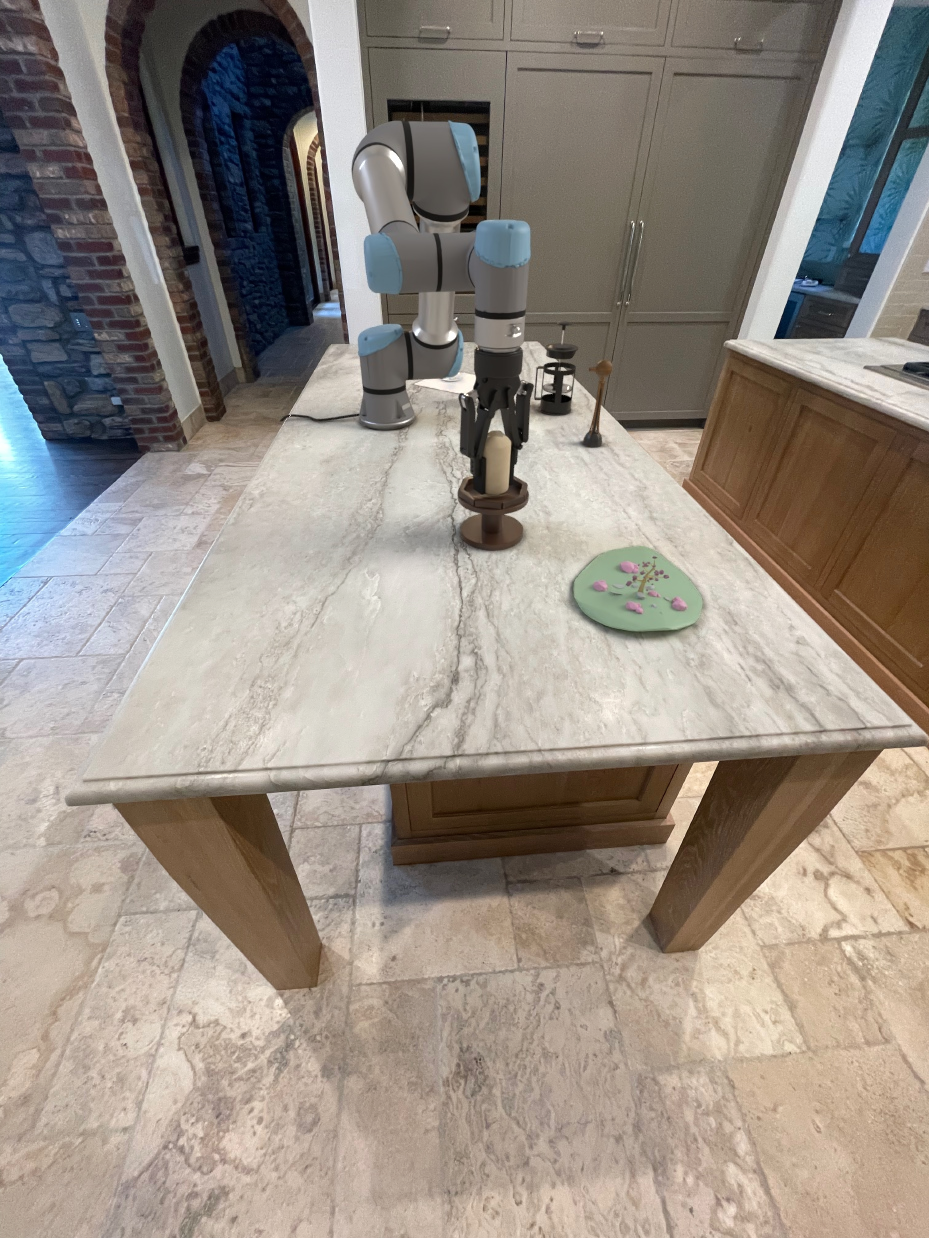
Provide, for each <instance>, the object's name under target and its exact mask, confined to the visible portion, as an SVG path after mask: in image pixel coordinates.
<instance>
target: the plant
mask: <svg viewBox="0 0 929 1238" xmlns="http://www.w3.org/2000/svg"><path fill="white" fill-rule="evenodd" d="M572 587H573V588H572V589H573V598H574V600H575V602H576V603H577V605H578V607H579V608H580V610H581V611H582V612H583V613H584V615H586V616H587V617H588V618H590V619H591V620H593V621H595V622H596V623H599V624H601V625H604V626H606V627H609V628H612V629H618V630H621V631H622V630H624V631H629V632H659V631H678V630H681V629H684V628H687V627H690V626H692V625H694V624H696V622H698V620H699V618H700V616H701V614H702V613H701V612H702V609H703V605H704V604H703V597H702V595H701V594H700V592H699V590H698V588H696V586H695V584H693V582H692V581H691V580H690V577H688V576H687V574H685V573H684V572H683V571H682V570H681V569H680V568H679V567H677V566H676V565H674V564H673V563H672V562H671V561H670V560H668V559H667V558H666V557H664V556H663V555H662V554H660V553H659V552H658V551H656V550H655V549H653V548H650V547H648V546H643V545H635V546H628V547H621V548H616V549H611V550H607V551H605V552H602V553H600V554H599V555H597V556H596V557H595V558H594V559H593V560H592V561H590V563H589V564H588V565H586V567H584V568H583V570H582V571H580V573H579V574H578V575H577V576H576V577H575V580H574V582H573V586H572Z"/></svg>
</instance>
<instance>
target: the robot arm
mask: <svg viewBox="0 0 929 1238" xmlns="http://www.w3.org/2000/svg"><path fill="white" fill-rule="evenodd" d="M350 171H351V179H352V184H353V187H354V190H355V193H356V195H357V197H358V198H359V200H360V201H361V202H362V203H363V206H364V209H365V214H366V218H367V223H368V227H369V231H370V234H368V235H366V236H365V237H364V240H363V255H364V257H363V258H364V267H365V274H366V281H367V286H368V288H369V291H371V292H372V293H375V294H390V295H393V296H394V295H399V294H418V315H417V317H416V318H415V319H414V320H413V322H412V326H411V330H404V328H403V326H402V325H401V324H399V323H386V324H385V323H383V324H379V325H374V326H371V327H368V328H366V329H364V330H362V331H361V332H360V333H359V335H358V337H357V349H358V351H357V355H358V357H359V365H360V375H361V385H362V397H361V403H360V408H359V413H352V414H344V415H339V416H332V417H325V418H315V417H313V416H310V415H304V414H296V413H295V414H294V413H292V414H291V413H290V414H291V416H290V414H287V415H284V416H283V417H282V418H280V420H279V422H280V423H281V422H284V421H285V420H287V419H289V418H301V419H308V420H311V421H313V422H329V421H337V420H343V419H349V418H356V417H358V418H359V423H360V425H361V426H363V427H365V428H368V429H371V430H378V431H390V430H391V431H392V430H399V429H403V428H407V427H408V426H410V425H412V424H413V423H414V422H415V419H416V415H415V410H414V407H413V404H412V402H411V399H410V397H409V394H408V391H407V381H422V380H424V379H444V378H448V377H454V376H456V375H457V374H458V373H459V372H461V368H462V365H463V360H464V345H465V343H464V336H463V333H462V331H461V330H460V328H459V327H458V324H457V323H456V321H455V320H454V314H455V313H454V311H455V299H456V298H455V297H456V292H474V305H475V306H474V326H473V327H474V332H473V342H474V344H475V345H476V347H475V348H474V350H473V356H474V357H473V372H474V375H475V376H476V381H475V384H474V386H473V390H472V391H470V392H468V393H466V394H464V393H460V394H459V393H458V397H457V399H458V403H459V406H460V430H459V431H460V432H459V433H460V434H459V453H460V454H462V455H463V456H465V457H467V458H469V459H470V460H469V472H470V475H471V476H473V489H474V490H476V491H477V492H478V493H480V494H481V495H482V494H485V484H486V458H485V457H483V456H482V455H483V452H484V448H485V444H486V440H487V436H488V433H489V432H490V428H491V423H492V419H494V418H495V416H496V412H497V411H498V410H499V411H500V416H501V421H502V427H503V431H504V432H503V433H504V434H505V435H506V436H507V437H508V438H509V439H510V440H511V454H510V471H509V486H511V485H513V479H514V476H515V466H516V465H518V456H519V451H521V450H522V449H523V448H524V444H526V443H527V442H529V437H530V420H531V419H530V418H531V417H530V415H531V398H532V395H533V391H534V390H535V384H534V383H532V382H530V381H527V380H524V379H521V377H520V375H521V374H522V371H523V362H524V361H523V358H524V349H523V348H522V347H521V346H522V345H523V344H524V342H525V327H526V314H527V313H526V312H527V311H526V310H527V300H528V285H529V273H530V272H529V271H530V260H531V256H532V249H531V227H530V225H529V224H528V222H526V221H524V220H517V219H486V220H485V219H484V220H482V221H480V222H479V223H478V224H477V226H476V228H475V229H473V230H472V231H470V232H461V222H462V221H463V220H464V219H466V218H467V217H468V214H469V211H470V202H471V203H475V202H476V201H478V200H479V198H480V194H481V163H480V154H479V146H478V140H477V137H476V133H475V131H474V129H473V128H472V126H471V125H470V124H469V123H465V122H456V121H455V122H453V121H452V120H447V121H417V120H416V121H414V120H413V121H412V120H411V121H409V120H408V121H407V120H406V121H405V120H392V121H387V122H384V123H381V124H379V125H377V126H375V127H374V128H373V129H371V130H370V131H368V132H367V133H366V134H365V135H364V137H362V139H361V140H360V142H359V143H358V145H357V146H356V149H355V151H354V153H353V156H352V160H351V170H350ZM410 202H412V206H411V203H410ZM412 208H413V209H412ZM413 211H414V212H415V213H416V215H417V216H418V217H419V227H418V223H417V221H416V218H415V215H414V212H413ZM289 416H290V417H289Z"/></svg>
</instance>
